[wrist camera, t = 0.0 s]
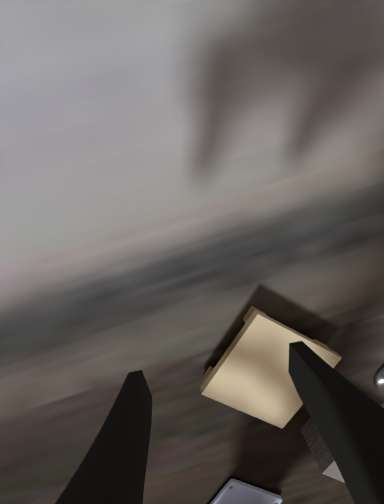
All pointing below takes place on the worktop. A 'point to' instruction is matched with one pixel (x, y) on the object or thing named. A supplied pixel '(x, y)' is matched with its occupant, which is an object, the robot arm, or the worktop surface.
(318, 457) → the housing
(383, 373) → the round metal disc
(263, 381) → the stand
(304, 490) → the worktop surface
